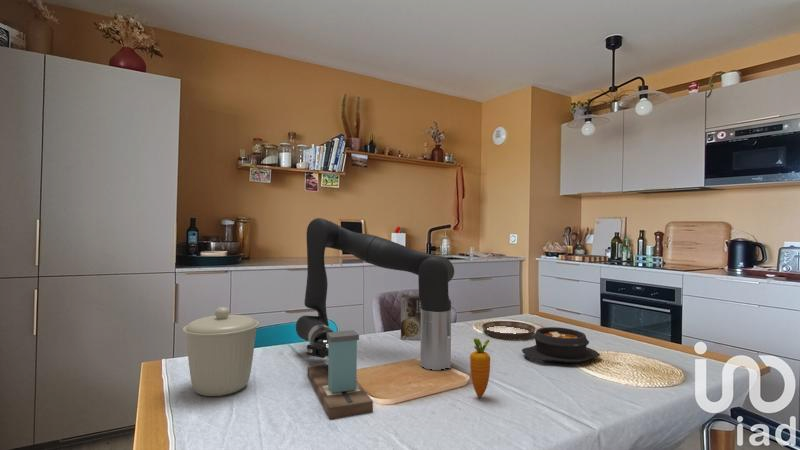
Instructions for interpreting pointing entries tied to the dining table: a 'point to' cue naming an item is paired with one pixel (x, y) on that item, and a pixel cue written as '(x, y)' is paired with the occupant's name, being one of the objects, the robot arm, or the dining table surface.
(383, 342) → the dining table surface
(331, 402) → the grooved wooden base
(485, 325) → the plant saucer
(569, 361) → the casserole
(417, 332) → the coffee box
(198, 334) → the canister
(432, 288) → the robot arm
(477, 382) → the carrot
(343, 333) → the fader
